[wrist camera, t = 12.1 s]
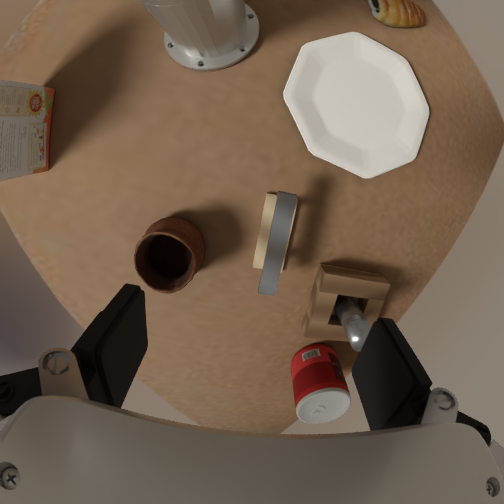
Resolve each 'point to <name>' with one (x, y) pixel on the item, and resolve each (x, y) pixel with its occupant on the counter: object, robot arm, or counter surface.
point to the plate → (357, 104)
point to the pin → (352, 321)
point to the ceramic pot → (169, 254)
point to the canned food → (319, 384)
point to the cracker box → (24, 128)
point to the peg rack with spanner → (274, 238)
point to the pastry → (397, 13)
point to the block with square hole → (343, 283)
